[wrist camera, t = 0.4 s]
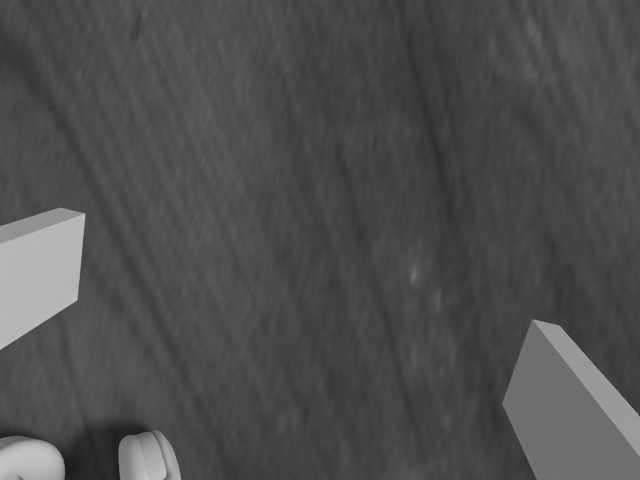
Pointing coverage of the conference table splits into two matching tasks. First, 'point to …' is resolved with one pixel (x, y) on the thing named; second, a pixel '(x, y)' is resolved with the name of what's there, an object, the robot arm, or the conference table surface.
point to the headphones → (49, 470)
